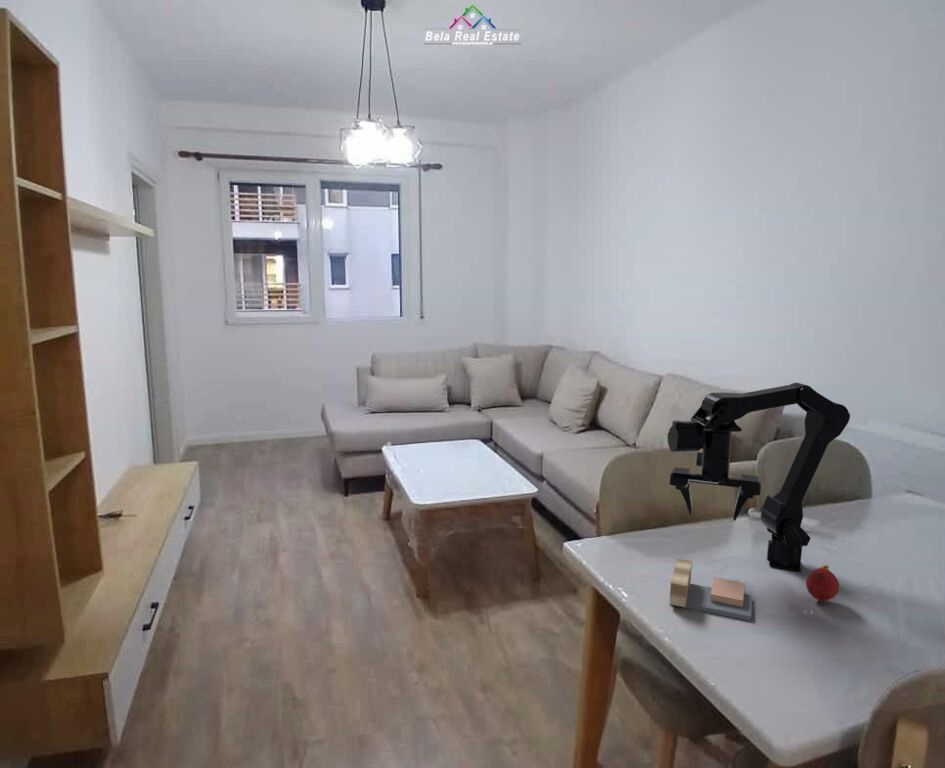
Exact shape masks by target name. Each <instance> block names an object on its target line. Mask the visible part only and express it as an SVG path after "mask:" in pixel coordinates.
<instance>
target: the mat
mask: <svg viewBox="0 0 945 768" xmlns="http://www.w3.org/2000/svg"><path fill="white" fill-rule="evenodd" d="M711 589H712V586H711V587H709V586H707V585H700V584H694V583H690V587H689V592H688V597H687V601H686V606H685V607H682V606H677V605H672V604H670V603H669V605H671V606H675V607H680V608H685V609H690V610H695V611H699V612H703V613H709V614H712V615H713V614H714V615H719V616H722V617H723V616H725V617H728V618H732V619H733V618H734V619H738V620H739V619H740V620H744V621H748V622H751V621H752V596H753V595H752V594H747V593H744V594H743V607H737V606H732V605H727V604H723V603H718V602H713V601H711V600H710V597H711Z"/></svg>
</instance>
